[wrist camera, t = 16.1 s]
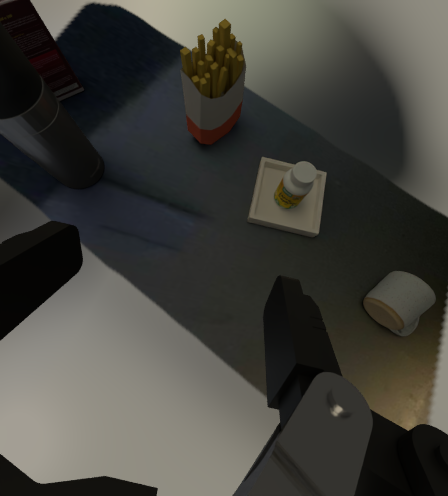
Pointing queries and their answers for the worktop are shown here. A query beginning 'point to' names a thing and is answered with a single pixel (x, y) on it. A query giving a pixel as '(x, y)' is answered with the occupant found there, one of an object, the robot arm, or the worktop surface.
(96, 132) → the worktop surface
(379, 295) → the ceramic mug
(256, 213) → the tray
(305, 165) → the supplement bottle
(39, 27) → the supplement box
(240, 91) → the french fries container
